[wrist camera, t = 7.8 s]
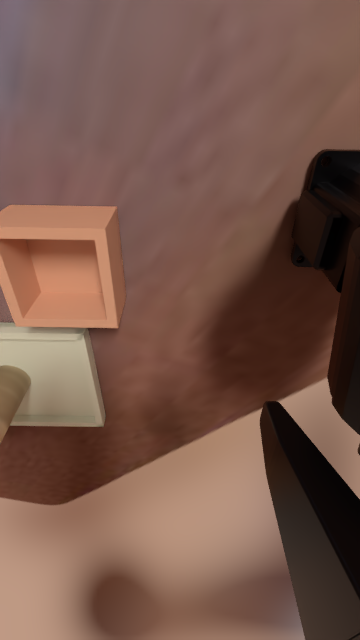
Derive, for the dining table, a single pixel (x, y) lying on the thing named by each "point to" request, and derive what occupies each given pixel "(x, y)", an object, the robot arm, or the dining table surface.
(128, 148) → the dining table surface
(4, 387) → the dowel
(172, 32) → the dining table surface
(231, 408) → the dining table surface
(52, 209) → the orange open box
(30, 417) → the tray
